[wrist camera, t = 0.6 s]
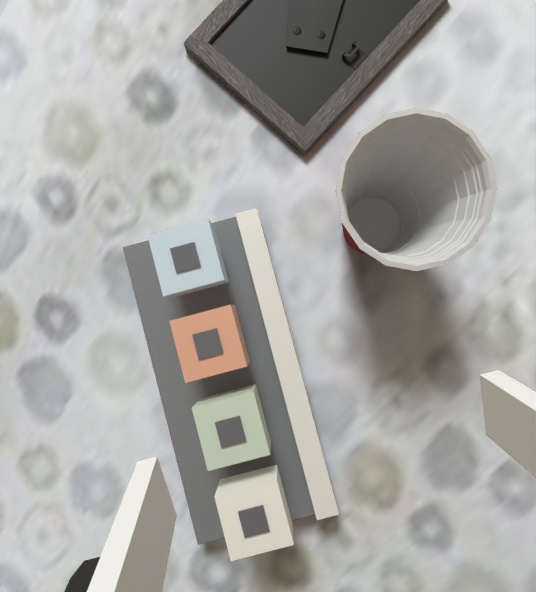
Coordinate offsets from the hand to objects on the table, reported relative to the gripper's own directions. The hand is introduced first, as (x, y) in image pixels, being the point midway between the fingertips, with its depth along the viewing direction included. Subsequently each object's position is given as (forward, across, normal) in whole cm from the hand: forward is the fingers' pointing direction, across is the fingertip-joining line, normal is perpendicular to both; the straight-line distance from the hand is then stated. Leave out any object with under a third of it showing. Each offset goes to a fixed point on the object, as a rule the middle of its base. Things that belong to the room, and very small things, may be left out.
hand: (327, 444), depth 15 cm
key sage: (+17, +5, +7) cm, 19 cm away
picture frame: (+30, -11, -25) cm, 40 cm away
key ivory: (+15, +5, +14) cm, 21 cm away
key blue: (+20, +6, -6) cm, 22 cm away
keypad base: (+22, +5, +5) cm, 23 cm away
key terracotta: (+18, +6, 0) cm, 19 cm away
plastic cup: (+24, -12, -5) cm, 27 cm away
